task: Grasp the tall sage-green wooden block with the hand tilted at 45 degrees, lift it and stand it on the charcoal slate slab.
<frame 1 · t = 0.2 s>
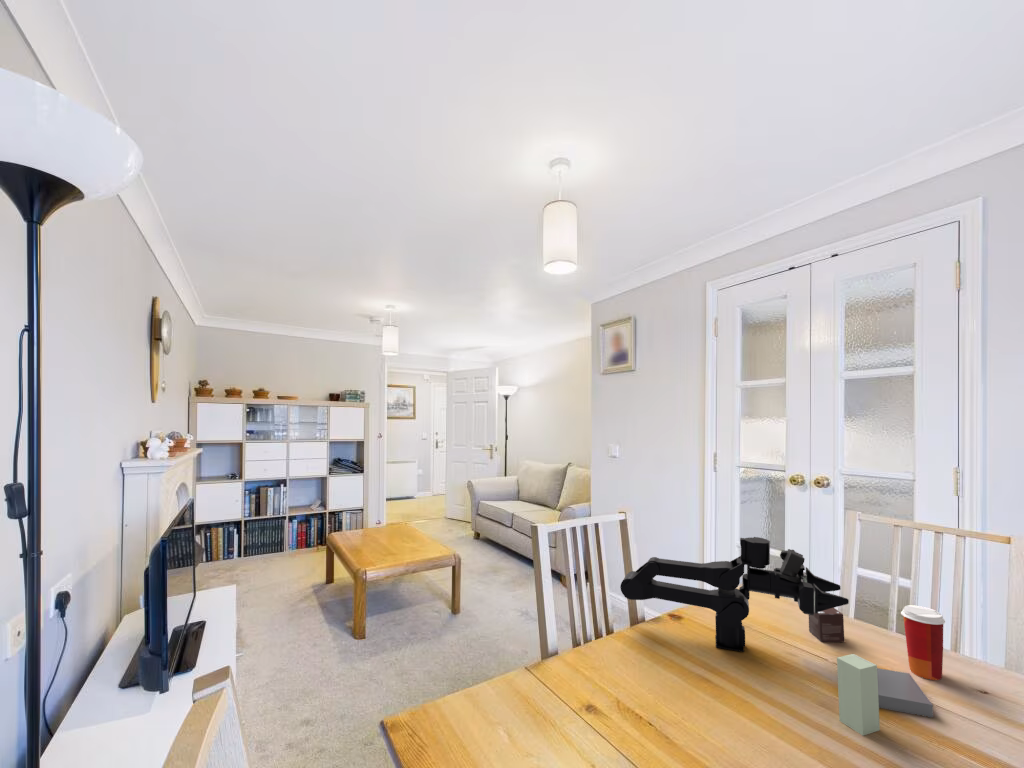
hand: (844, 594, 113), 17 cm above the table, tool horizontal, fingers open, 9 cm apart
sage block: (859, 725, 92), on the table
slate slab: (885, 694, 102), on the table
box: (826, 638, 127), on the table
paper cup: (925, 674, 109), on the table
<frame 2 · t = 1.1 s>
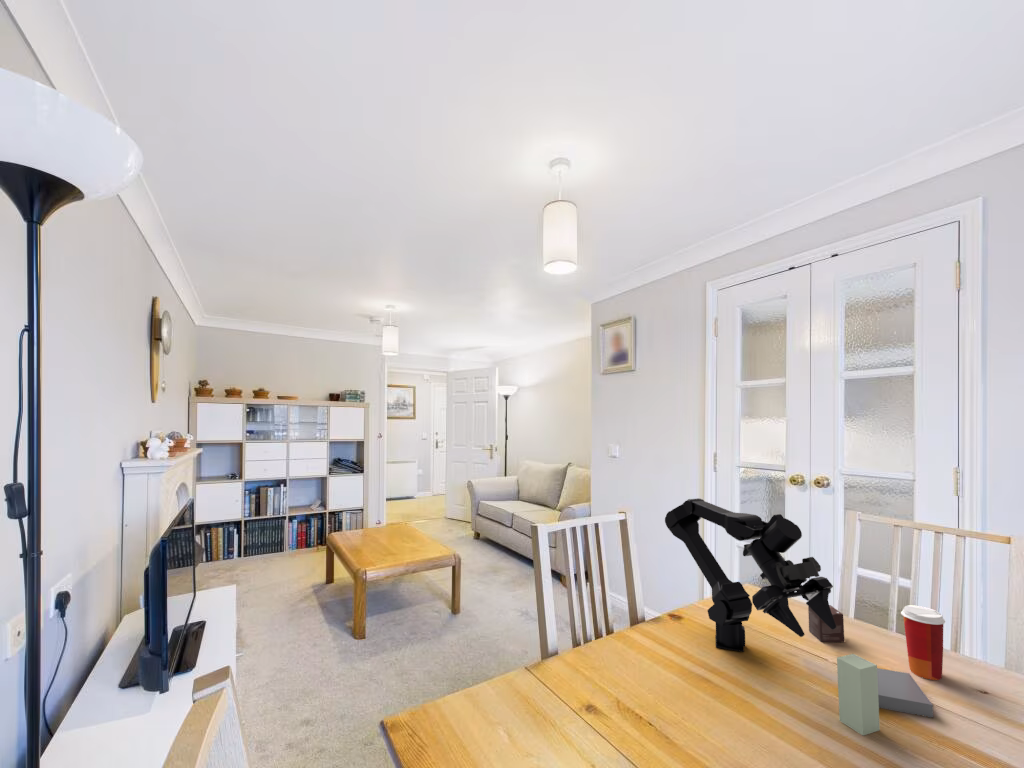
hand: (819, 632, 100), 14 cm above the table, tool tilted 45°, fingers open, 9 cm apart
nothing on the table moved.
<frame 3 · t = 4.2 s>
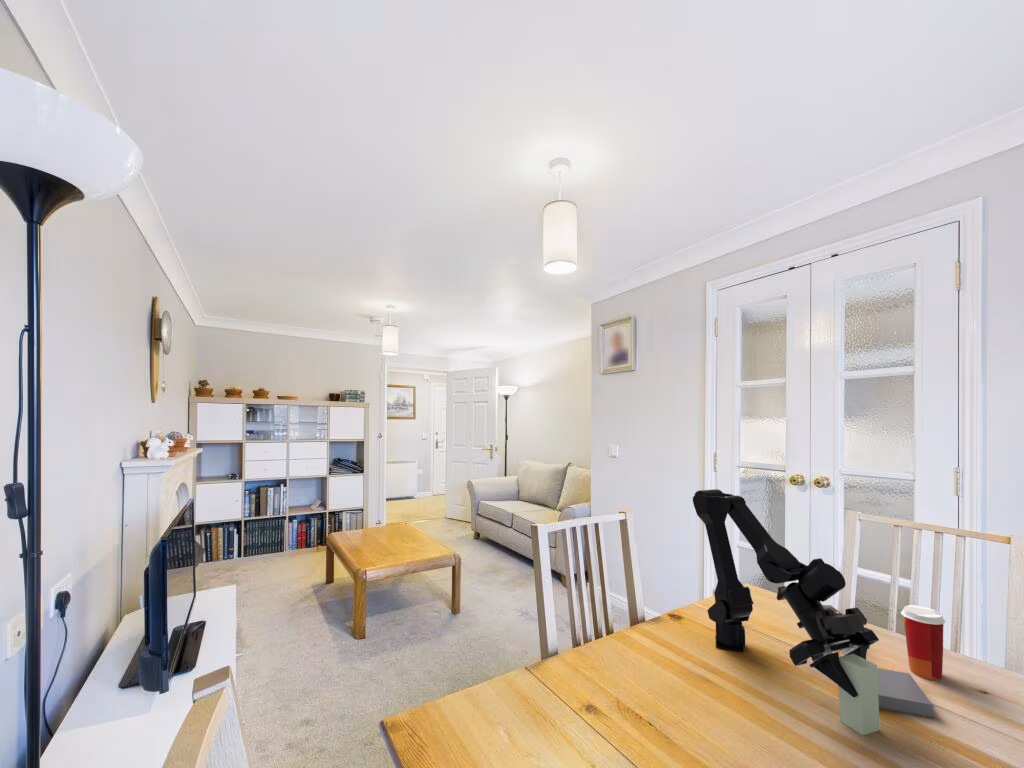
hand: (865, 694, 91), 7 cm above the table, tool tilted 45°, fingers closed on sage block, 4 cm apart
sage block: (859, 725, 92), on the table, touching gripper
everything else where it was.
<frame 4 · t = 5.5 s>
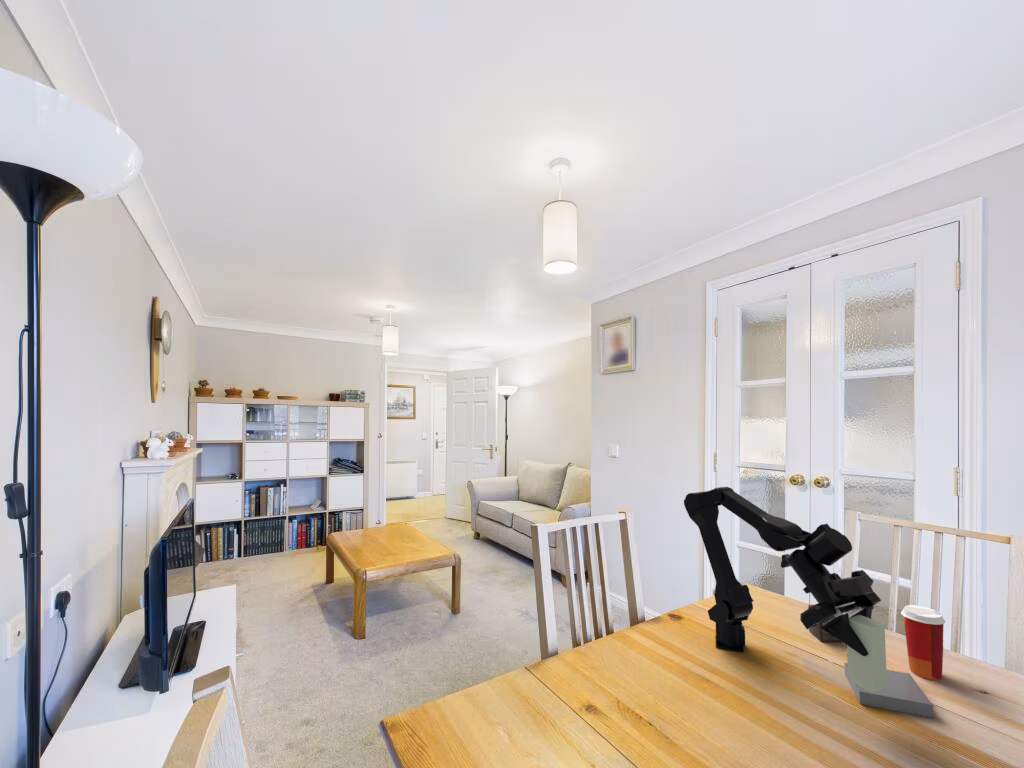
hand: (873, 652, 93), 13 cm above the table, tool tilted 45°, fingers closed on sage block, 4 cm apart
sage block: (867, 683, 94), point 7 cm above the table, touching gripper
everything else where it was.
when the fingers open (10 cm above the table, at t = 7.2 s): sage block drops 1 cm, resting on slate slab.
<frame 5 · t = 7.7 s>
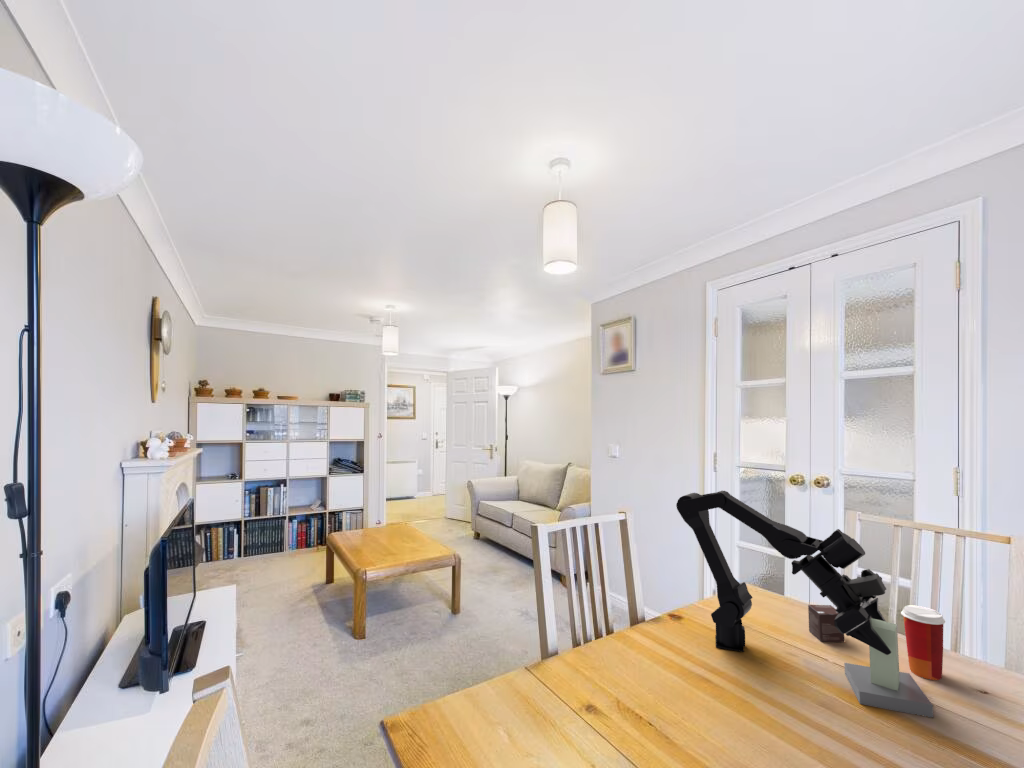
hand: (891, 645, 101), 11 cm above the table, tool tilted 45°, fingers open, 9 cm apart
sage block: (885, 682, 102), point 2 cm above the table, touching slate slab
everything else where it was.
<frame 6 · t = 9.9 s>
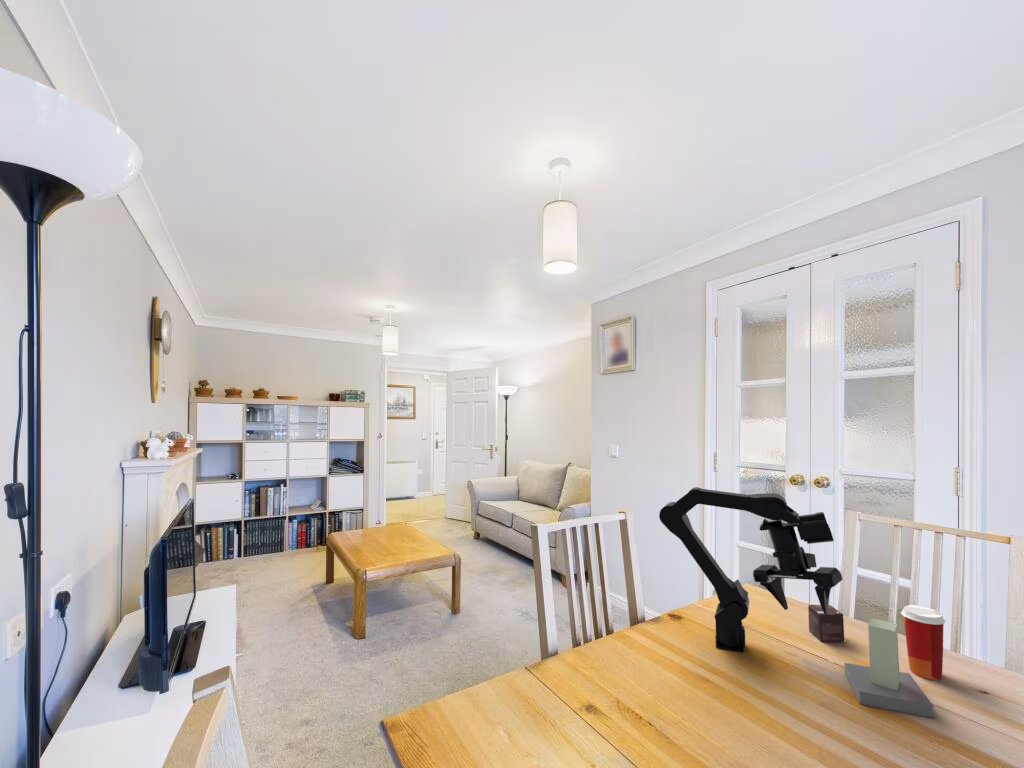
hand: (805, 611, 116), 12 cm above the table, tool pointing down, fingers open, 9 cm apart
nothing on the table moved.
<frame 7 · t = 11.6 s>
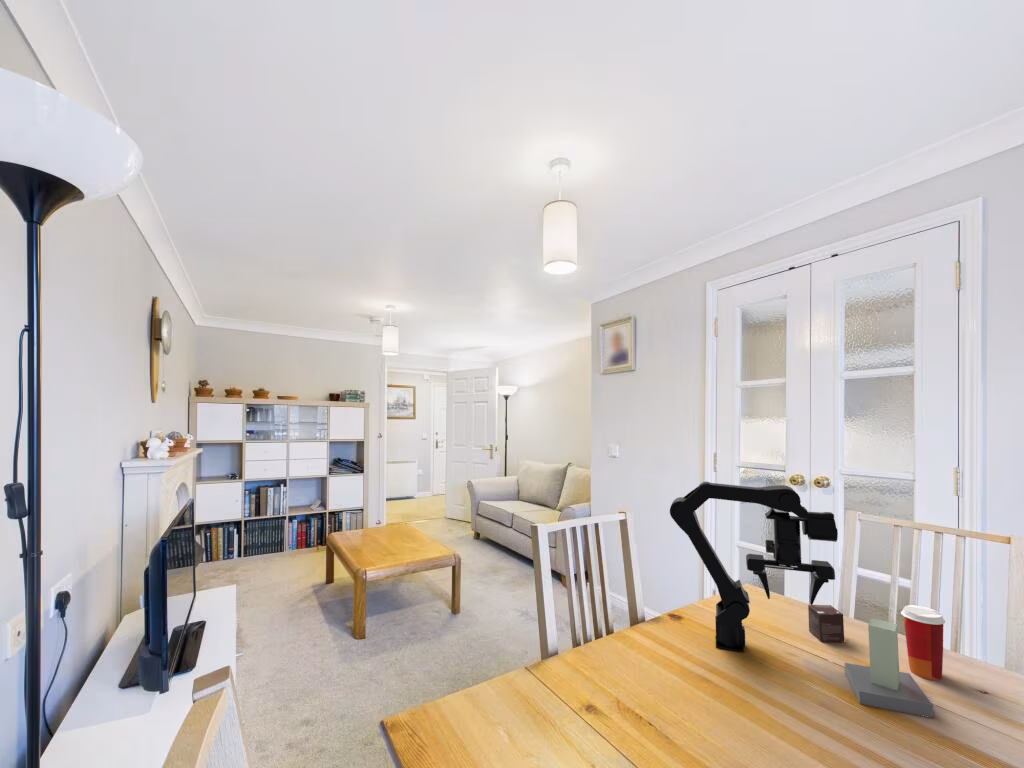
hand: (789, 601, 119), 13 cm above the table, tool pointing down, fingers open, 9 cm apart
nothing on the table moved.
at the end: sage block inside the target area on the slate slab (0.0 cm from its centre), point 2.5 cm above the slate slab's base; sage block tilted 0°; the gripper is holding nothing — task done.
